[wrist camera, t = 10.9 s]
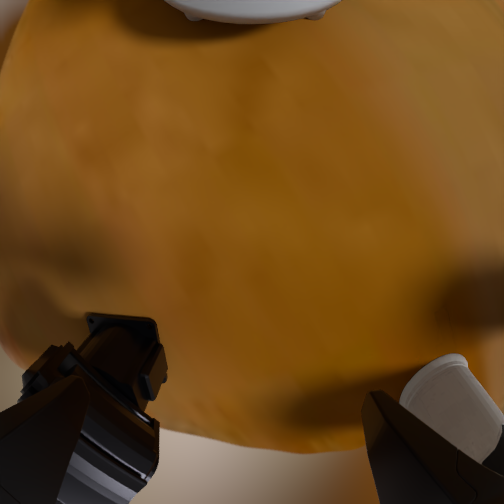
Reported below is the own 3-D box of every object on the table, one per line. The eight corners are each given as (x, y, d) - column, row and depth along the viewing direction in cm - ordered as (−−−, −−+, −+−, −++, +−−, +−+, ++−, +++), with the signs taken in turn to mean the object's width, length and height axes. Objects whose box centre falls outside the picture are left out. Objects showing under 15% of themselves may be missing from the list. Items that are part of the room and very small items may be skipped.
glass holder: (451, 339, 22) (534, 447, 8) (486, 387, 24) (539, 464, 10) (384, 399, 24) (433, 522, 10) (435, 432, 27) (474, 516, 12)
